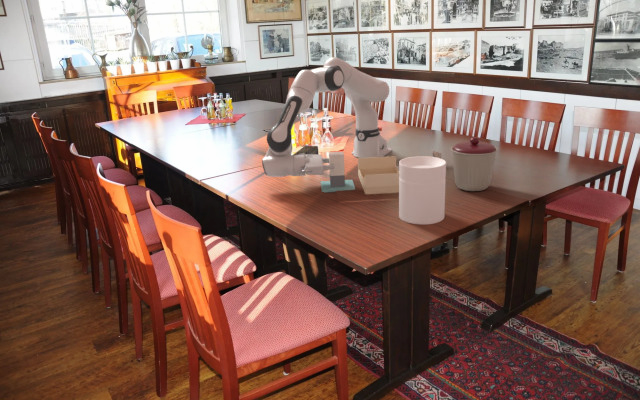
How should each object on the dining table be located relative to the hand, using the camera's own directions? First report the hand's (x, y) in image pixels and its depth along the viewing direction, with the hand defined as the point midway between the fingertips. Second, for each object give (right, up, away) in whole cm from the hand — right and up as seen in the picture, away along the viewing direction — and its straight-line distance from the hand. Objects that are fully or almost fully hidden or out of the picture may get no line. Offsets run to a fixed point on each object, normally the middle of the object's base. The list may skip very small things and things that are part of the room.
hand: (333, 163), depth 220 cm
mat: (+2, -10, +4) cm, 10 cm away
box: (+2, -9, +3) cm, 10 cm away
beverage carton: (-13, +4, +46) cm, 48 cm away
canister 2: (+57, -11, -6) cm, 58 cm away
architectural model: (+49, 0, +26) cm, 55 cm away
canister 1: (+31, -21, -33) cm, 50 cm away
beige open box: (+21, -9, +4) cm, 23 cm away
